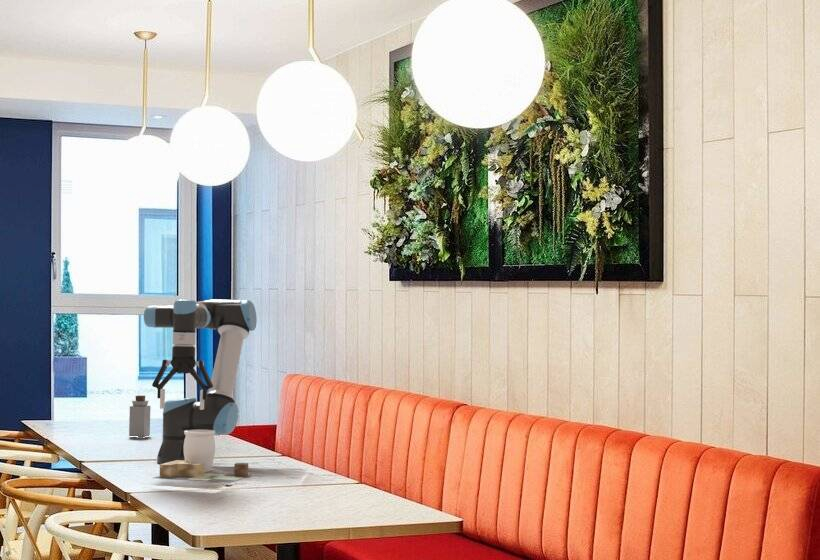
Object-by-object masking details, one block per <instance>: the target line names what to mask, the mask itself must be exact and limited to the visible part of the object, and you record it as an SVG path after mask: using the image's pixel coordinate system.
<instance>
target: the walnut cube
mask: <svg viewBox="0 0 820 560" xmlns="http://www.w3.org/2000/svg"><path fill="white" fill-rule="evenodd" d="M233 465H234V466H233V469H234V470H233V474H234V477H246V478H248V477H247V476H248V475H249V462H235V463H234V464H233Z"/></svg>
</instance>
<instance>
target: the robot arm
mask: <svg viewBox="0 0 820 560" xmlns="http://www.w3.org/2000/svg"><path fill="white" fill-rule="evenodd" d="M256 311H257V310H256V308H255V304H254V303H253V302H252V301H251V300H249V299H224V298H223V299H219V298H218V299H217V298H215V299H205V300H201V301H196V300H193V299H176V300H175V301H174V303H173V304H172V305H148V306H147V307H146V308H145V309H144V312H143V322H144V324H145V326H146V327H148V328H154V329H155V328H164V329H165V328H167V329H168V328H172V344H173V346H172V347H171V349H172V353H171V354H172V356H171V360H168V359H162V361H161V367H160V368H159V370H158V372H157V374H156V377H155V378H154V380H153V382H152V384H151V386H152V387H153V388H156V389H157V393H156V394H157V397H156V398H157V399H159V409H160V410H162V441H161V445H160V446H159V447H160V448H159V449H158V450H159V451H158V453H157V457H156V462H157V464H159V465H160V464H164V463H168V462H172V461H176V460H185V458H184V440H185V437H186V435H185V434H184V431H186V430H195V429H205V430H214V431H215V434H214V436H224V435H225V436H226V435H229V434H231V433H232V432H233V431H234V429H235V428H236V426H237V423H238V421H239V420H238V419H239V407H238V405H237V404H236V400H235V398H234V397H233V394H234V387H235V383H236V377H237V373H238V368H239V362H240V358H241V353H242V347H243V345H244V344H243V343H244V340H246V339H247V338H248V337H249V335H250V332H252V331H255V330H256V328H257V319H258V317H257V312H256ZM197 329H198V330H199V329H207V330H215V331H216V330H217V332H218V334H219V335H220V338H219V343H218V347H217V351H216V356H215V361H214V367H213V371H212V374H211V378H210V376H209V373H208V371H207V369H206V367H205V360H196V347H195V346H194V345H196V335H197V334H196V332H197V331H196V330H197ZM170 365H171V367H172V368H171V370H170V371H169V372H168V373H167V374H166V376H165V377H164V378H163V376H164V375H165V372H166V370H167V368H168V367H169V366H170ZM196 366H197V368H199V371H200V373H201V375H202V378H203V379H204V380H203V379H202V378H201V376H200V375H199V374H198V372H197V371H196V370H195V367H196ZM176 374H186V375H187V374H190V375H191V376H192V378H193V379H194V380H195V381H196V383H197V384H198V385H199V386H200V388H201V389H200V391H199V401H198V400H197V398H196V397H186V398H185V397H184V398H177V399H176V398H175V399H169V400H165V399H166V389H165V388H164V387H165V386H166V385H167V384H168V382H169V381H170V380H171V379H172V378H173V376H175V375H176ZM162 378H163V380H162Z"/></svg>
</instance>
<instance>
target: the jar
mask: <svg viewBox="0 0 820 560" xmlns="http://www.w3.org/2000/svg"><path fill="white" fill-rule="evenodd" d="M184 434H185V435H186V437H185V440H184V458H185V461H188V462H190V463H205V472H210V471H211V469H212V467H213V463H214V459H215V454H216V442H215V441H216V440H215V435H214V434H215V431H214V430H205V429H195V430H186V431H184Z"/></svg>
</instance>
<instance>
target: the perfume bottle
mask: <svg viewBox="0 0 820 560" xmlns="http://www.w3.org/2000/svg"><path fill="white" fill-rule="evenodd" d="M131 403H132V406H131V405H130V406H129V421H128V422H129V426H128V427H129V428H128V437H129V436H138V437H145V436H149V435H150V434H151V405H148V403H149V400H146V395H141V394H140V395H139V394H138V395H135V400H132V401H131Z"/></svg>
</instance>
